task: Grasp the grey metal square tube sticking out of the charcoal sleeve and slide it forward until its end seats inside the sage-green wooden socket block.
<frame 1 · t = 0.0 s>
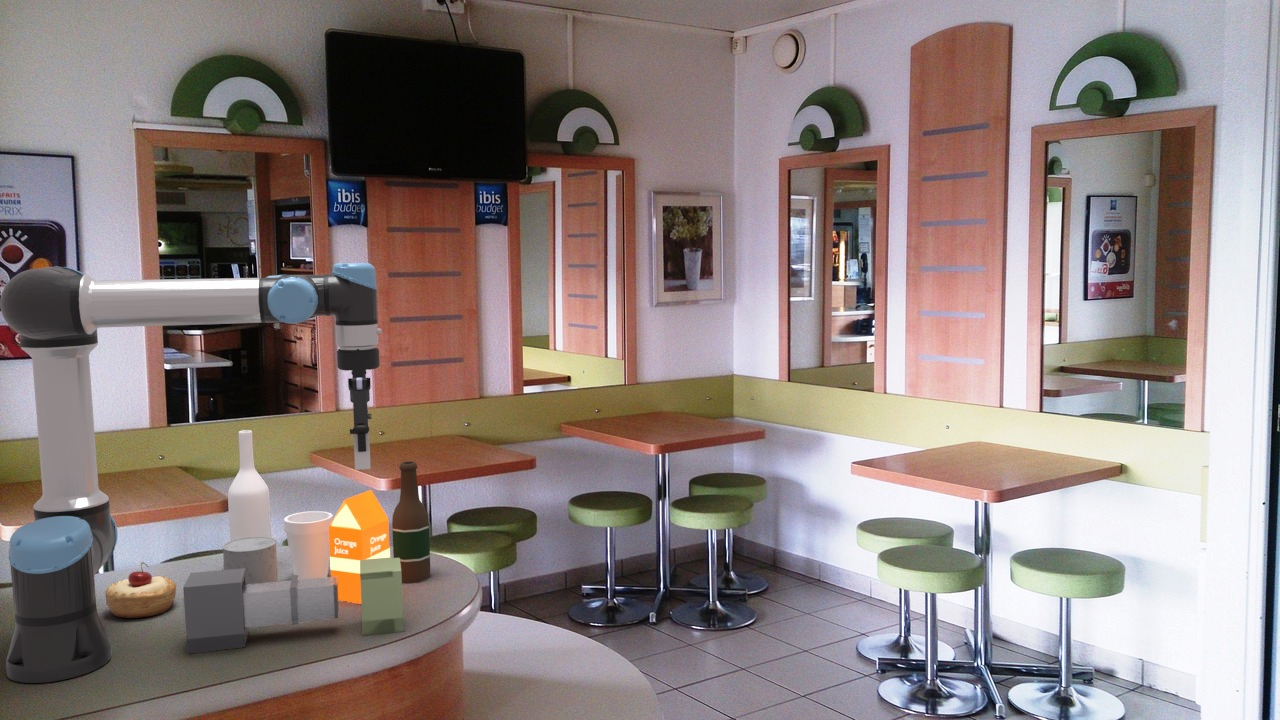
hand: (362, 461, 194), 28 cm above the counter, tool pointing down, fingers open, 13 cm apart
bottle: (253, 573, 219), on the counter
gray cylinder: (253, 608, 198), on the counter
orange juice: (362, 595, 204), on the counter
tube: (263, 602, 182), point 6 cm above the counter, slide at 0.0 cm
beer bottle: (412, 578, 214), on the counter
pastry: (142, 612, 197), on the counter
sleeve: (219, 642, 181), on the counter
socket: (382, 625, 188), on the counter
foam cup: (311, 580, 214), on the counter
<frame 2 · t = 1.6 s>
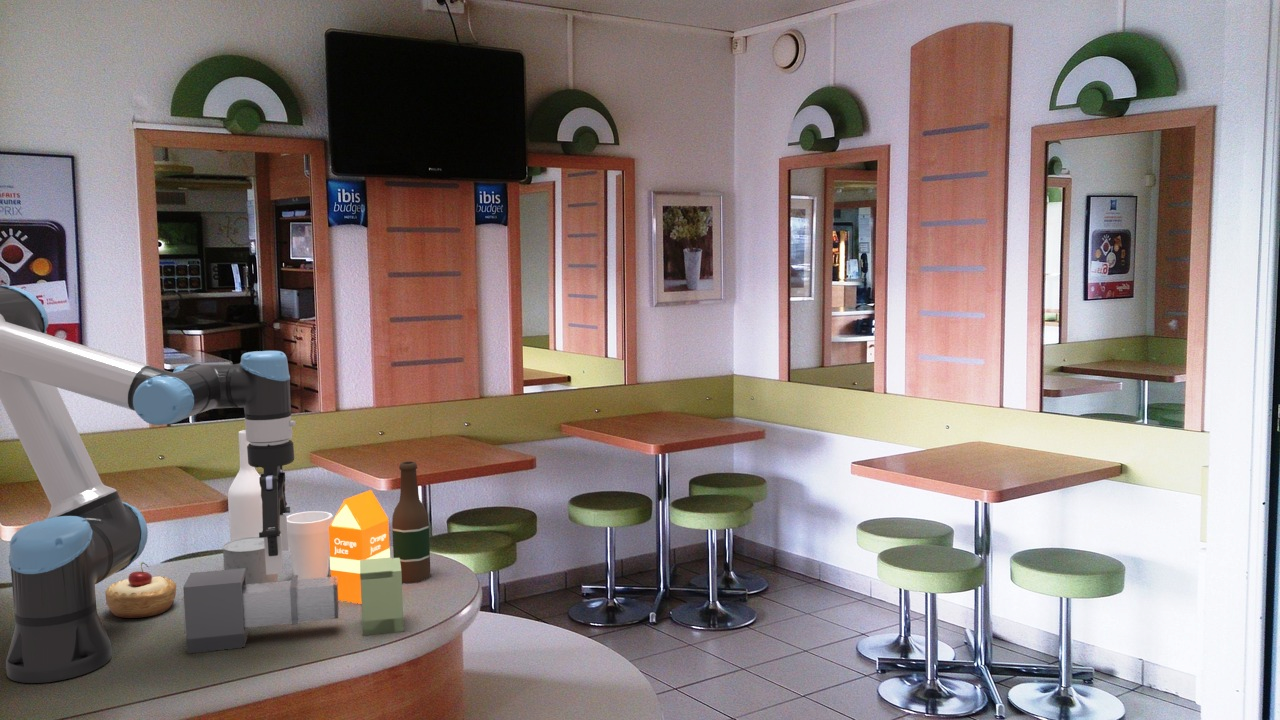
hand: (278, 561, 182), 13 cm above the counter, tool pointing down, fingers open, 13 cm apart
nothing on the counter moved.
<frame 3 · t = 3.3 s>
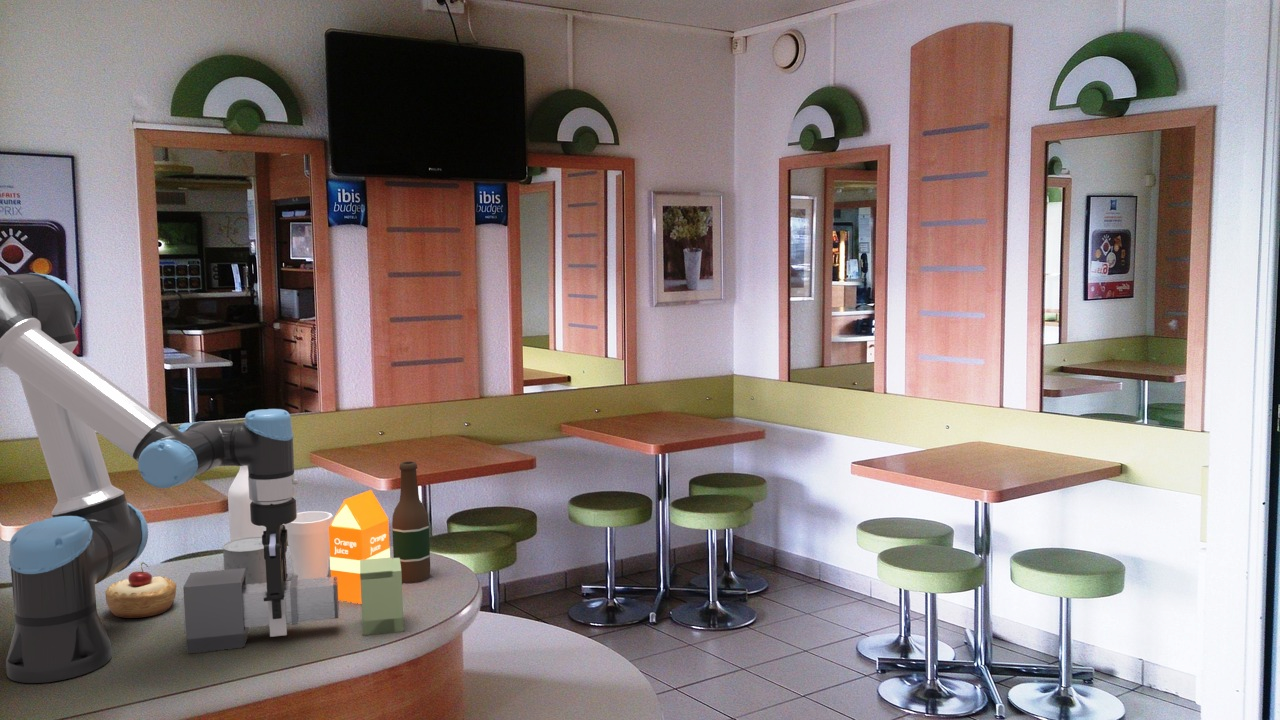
hand: (279, 628, 183), 1 cm above the counter, tool pointing down, fingers closed on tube, 5 cm apart
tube: (263, 602, 182), point 6 cm above the counter, slide at 0.0 cm, touching gripper
everything else where it was.
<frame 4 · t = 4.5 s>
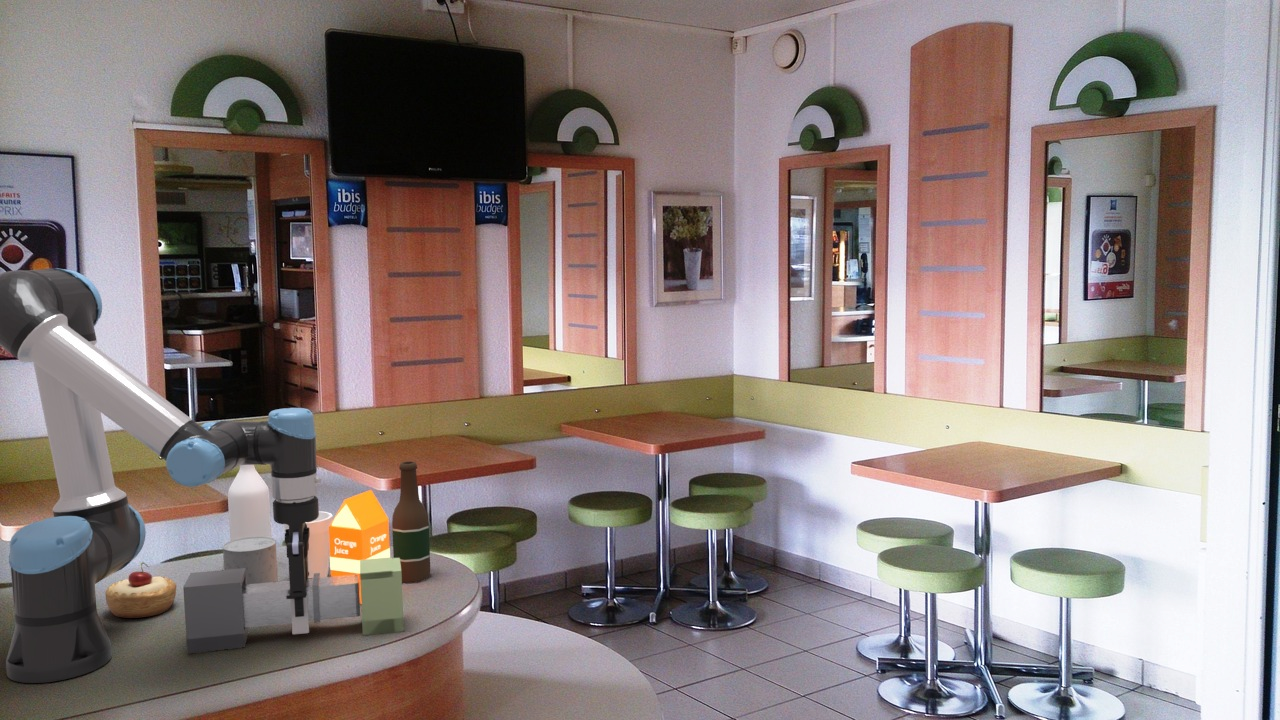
hand: (301, 626, 184), 1 cm above the counter, tool pointing down, fingers closed on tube, 5 cm apart
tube: (285, 600, 183), point 6 cm above the counter, slide at 3.7 cm, touching gripper
everything else where it was.
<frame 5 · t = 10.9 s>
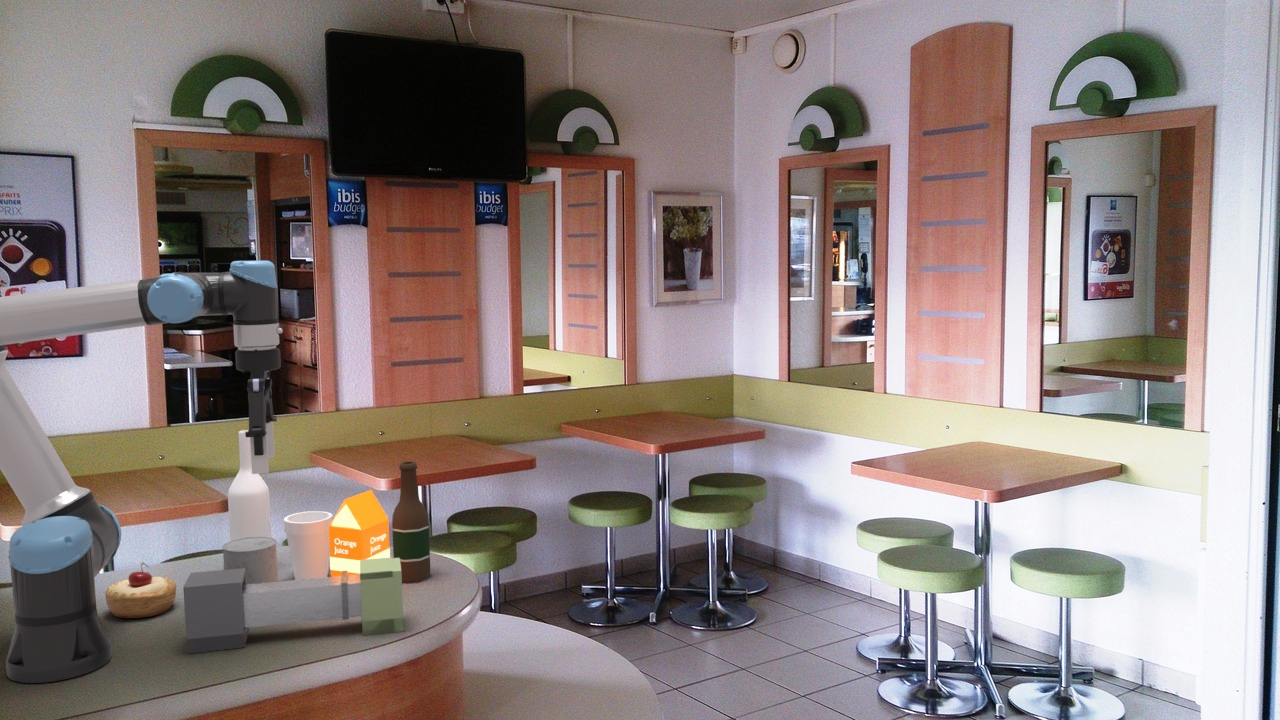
hand: (263, 465, 188), 29 cm above the counter, tool pointing down, fingers open, 13 cm apart
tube: (313, 597, 184), point 6 cm above the counter, slide at 8.5 cm
everything else where it was.
at the end: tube slide at 8.5 cm; the gripper is holding nothing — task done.
